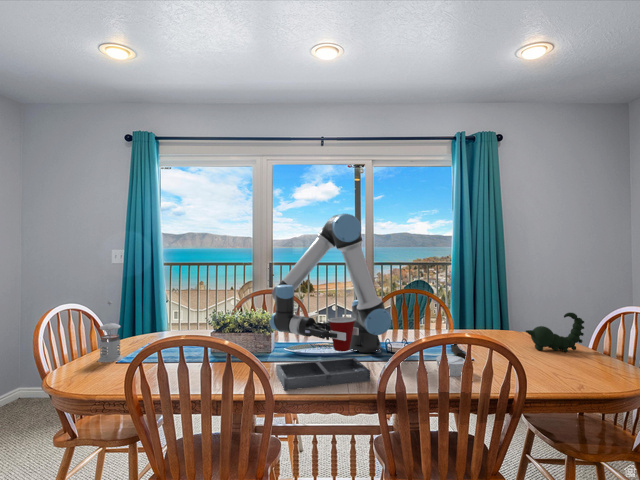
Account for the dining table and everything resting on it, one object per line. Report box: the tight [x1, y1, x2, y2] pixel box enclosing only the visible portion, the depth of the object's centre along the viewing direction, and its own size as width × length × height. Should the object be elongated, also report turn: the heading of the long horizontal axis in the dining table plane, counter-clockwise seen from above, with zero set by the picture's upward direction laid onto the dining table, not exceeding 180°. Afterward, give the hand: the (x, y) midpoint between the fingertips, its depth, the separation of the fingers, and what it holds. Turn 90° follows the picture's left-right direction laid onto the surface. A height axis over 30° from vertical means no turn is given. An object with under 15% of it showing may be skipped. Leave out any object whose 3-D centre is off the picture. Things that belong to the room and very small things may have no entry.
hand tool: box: [450, 343, 467, 360], centre depth 184 cm, size 19×4×5 cm, turn 171°
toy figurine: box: [525, 312, 585, 353], centre depth 190 cm, size 9×19×25 cm
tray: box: [275, 357, 371, 391], centre depth 155 cm, size 32×16×4 cm, turn 106°
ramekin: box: [435, 354, 466, 377], centre depth 161 cm, size 11×11×5 cm
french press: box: [97, 300, 124, 363], centre depth 178 cm, size 10×12×25 cm
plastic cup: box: [327, 316, 356, 353], centre depth 157 cm, size 11×11×12 cm
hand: (351, 334), depth 154 cm, fingers closed on plastic cup, 9 cm apart
